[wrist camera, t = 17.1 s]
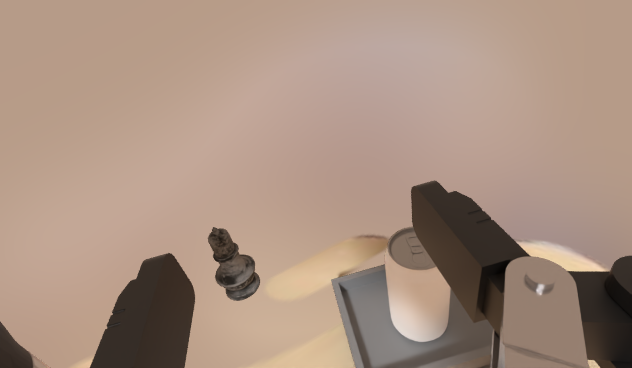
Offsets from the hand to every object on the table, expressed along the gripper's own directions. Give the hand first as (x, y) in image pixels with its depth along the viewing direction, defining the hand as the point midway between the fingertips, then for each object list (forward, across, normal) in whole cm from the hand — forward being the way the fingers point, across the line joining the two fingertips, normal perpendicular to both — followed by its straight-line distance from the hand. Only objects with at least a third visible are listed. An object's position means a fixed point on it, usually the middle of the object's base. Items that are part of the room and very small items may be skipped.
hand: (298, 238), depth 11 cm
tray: (+13, -10, +30) cm, 34 cm away
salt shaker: (+26, +12, +30) cm, 42 cm away
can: (+13, -10, +29) cm, 33 cm away
